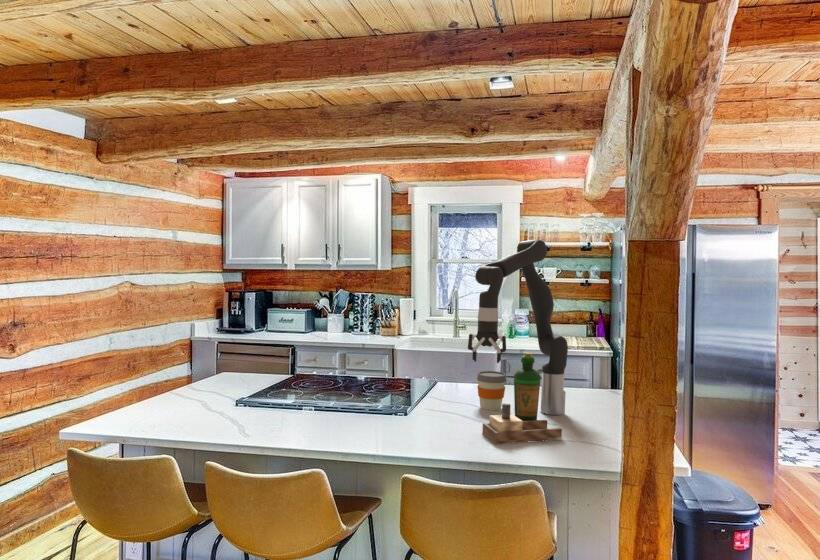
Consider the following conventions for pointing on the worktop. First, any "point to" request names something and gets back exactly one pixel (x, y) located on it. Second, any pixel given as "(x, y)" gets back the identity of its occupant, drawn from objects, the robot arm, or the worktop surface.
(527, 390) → the bottle
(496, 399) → the reusable coffee cup
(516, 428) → the light wooden block
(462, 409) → the worktop surface
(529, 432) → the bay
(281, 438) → the worktop surface
